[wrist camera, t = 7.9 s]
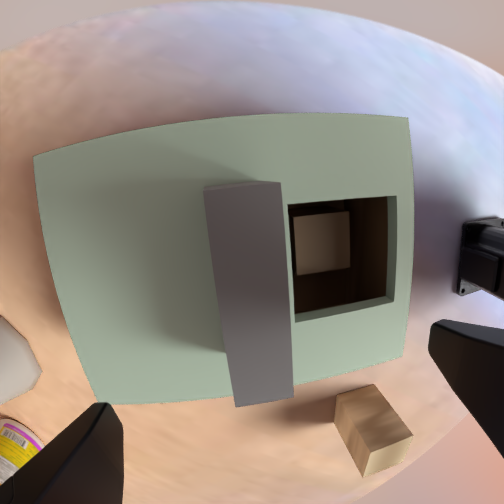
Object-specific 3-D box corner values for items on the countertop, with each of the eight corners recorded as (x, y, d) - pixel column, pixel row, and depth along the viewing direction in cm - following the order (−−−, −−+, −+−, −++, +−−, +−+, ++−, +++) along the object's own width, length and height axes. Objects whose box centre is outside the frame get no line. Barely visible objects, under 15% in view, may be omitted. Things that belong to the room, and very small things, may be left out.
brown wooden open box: (345, 132, 18) (398, 119, 12) (351, 307, 21) (395, 349, 15) (89, 160, 16) (41, 156, 10) (125, 340, 19) (102, 394, 13)
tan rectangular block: (374, 384, 23) (413, 435, 17) (368, 411, 24) (402, 462, 17) (336, 394, 23) (370, 452, 16) (333, 422, 24) (362, 477, 17)
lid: (398, 119, 12) (461, 107, 8) (395, 349, 15) (438, 392, 11) (41, 156, 10) (-19, 154, 6) (102, 394, 13) (81, 453, 9)
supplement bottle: (23, 456, 21) (-8, 533, 9) (-11, 415, 19) (-56, 492, 7) (60, 459, 21) (32, 550, 9) (24, 415, 20) (-24, 509, 7)
